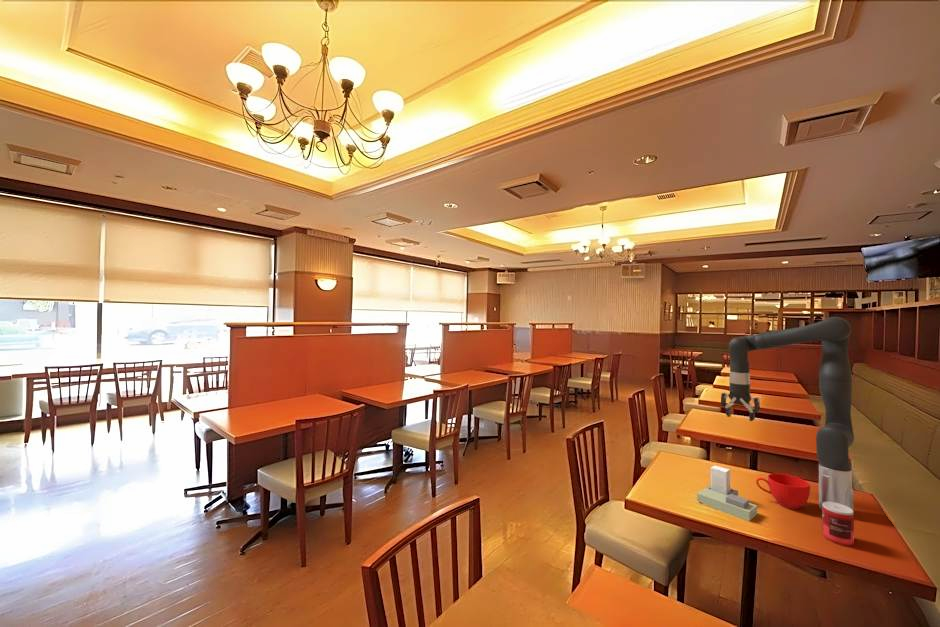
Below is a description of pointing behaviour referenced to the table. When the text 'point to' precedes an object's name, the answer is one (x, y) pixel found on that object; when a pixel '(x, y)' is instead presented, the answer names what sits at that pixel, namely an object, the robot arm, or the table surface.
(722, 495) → the green base with arch
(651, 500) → the table surface
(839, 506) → the canned food
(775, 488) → the ceramic cup
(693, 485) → the table surface
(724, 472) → the skincare box
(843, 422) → the robot arm
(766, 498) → the table surface
